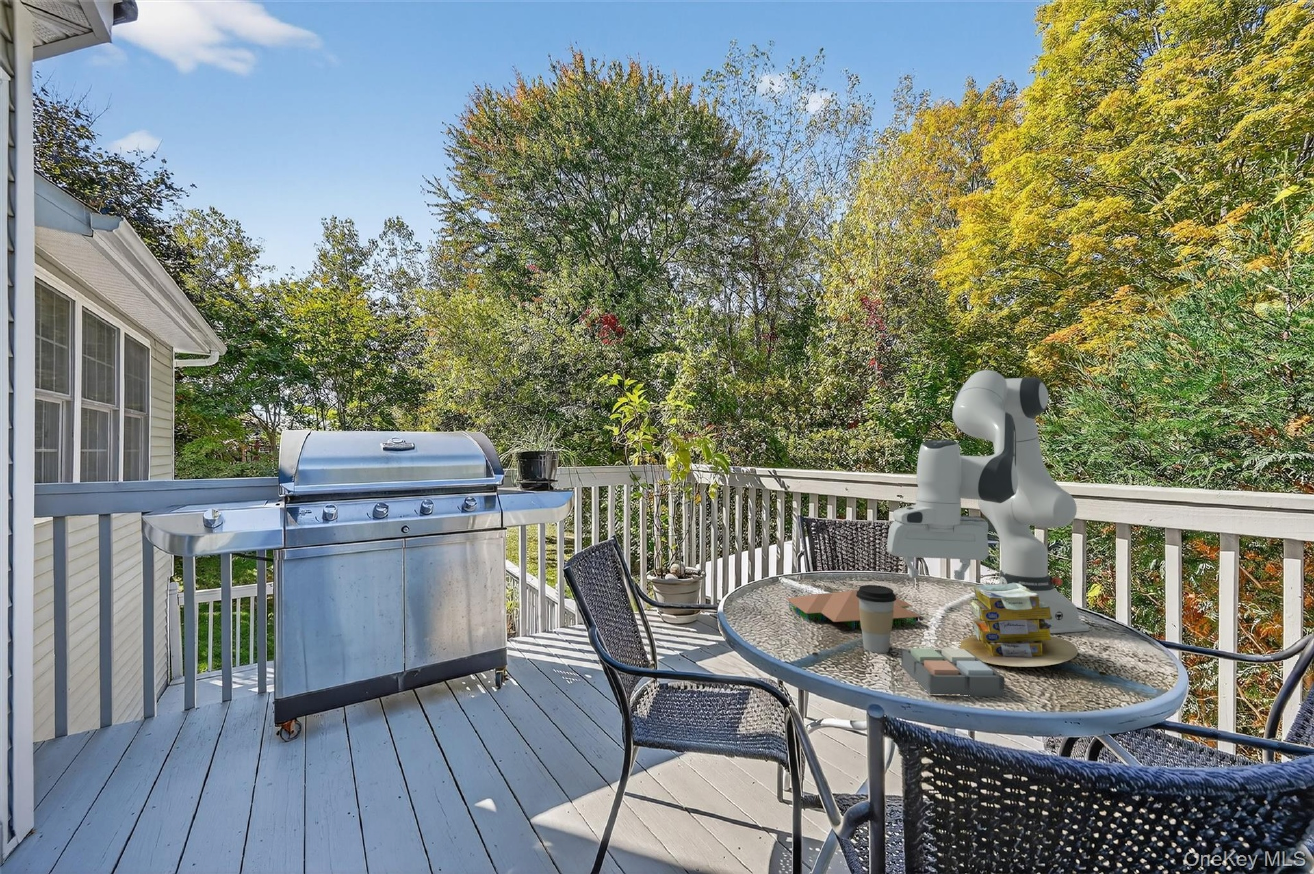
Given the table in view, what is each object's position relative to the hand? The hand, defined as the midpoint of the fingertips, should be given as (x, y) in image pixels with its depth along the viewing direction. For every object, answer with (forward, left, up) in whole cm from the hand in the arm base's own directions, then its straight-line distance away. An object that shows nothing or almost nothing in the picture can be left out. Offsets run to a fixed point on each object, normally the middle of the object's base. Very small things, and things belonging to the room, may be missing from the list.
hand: (936, 578), depth 126 cm
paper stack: (-26, -16, -23) cm, 38 cm away
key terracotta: (0, +3, -20) cm, 20 cm away
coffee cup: (+6, -19, -23) cm, 30 cm away
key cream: (-7, -4, -20) cm, 21 cm away
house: (+4, -45, -23) cm, 51 cm away
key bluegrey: (-7, +3, -20) cm, 21 cm away
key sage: (0, -4, -20) cm, 20 cm away
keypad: (-3, -1, -23) cm, 23 cm away
